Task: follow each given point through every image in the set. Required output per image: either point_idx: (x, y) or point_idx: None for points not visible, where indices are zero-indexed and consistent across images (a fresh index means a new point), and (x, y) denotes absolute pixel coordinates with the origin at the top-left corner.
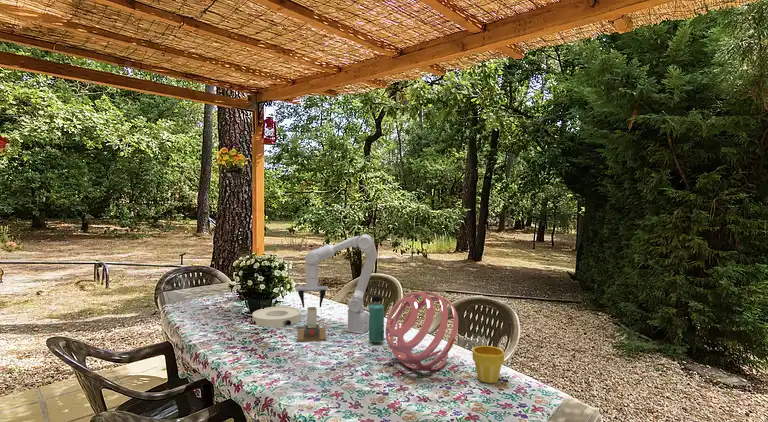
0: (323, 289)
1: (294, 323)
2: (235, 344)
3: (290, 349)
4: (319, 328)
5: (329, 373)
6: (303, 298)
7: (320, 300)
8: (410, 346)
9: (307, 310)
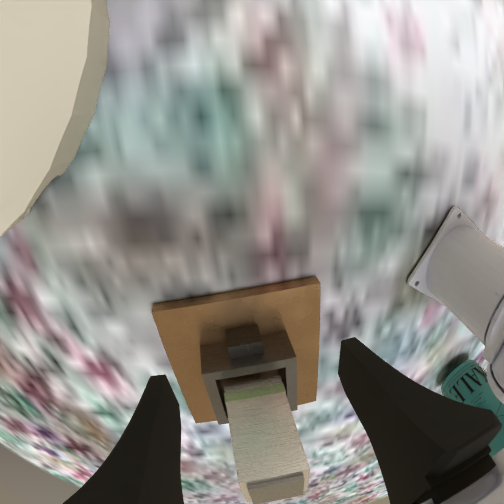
0: (463, 499)
1: (80, 143)
2: (7, 412)
3: (192, 452)
4: (296, 404)
5: (304, 492)
6: (180, 501)
7: (370, 434)
8: None
9: (248, 500)
